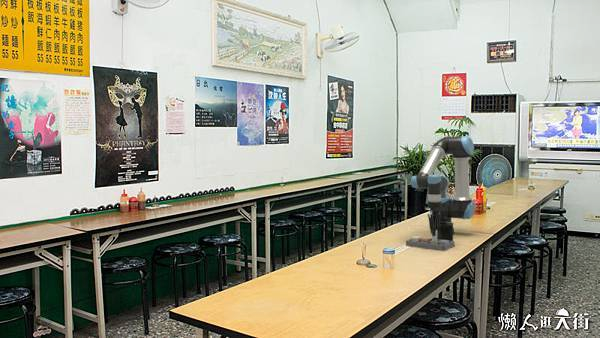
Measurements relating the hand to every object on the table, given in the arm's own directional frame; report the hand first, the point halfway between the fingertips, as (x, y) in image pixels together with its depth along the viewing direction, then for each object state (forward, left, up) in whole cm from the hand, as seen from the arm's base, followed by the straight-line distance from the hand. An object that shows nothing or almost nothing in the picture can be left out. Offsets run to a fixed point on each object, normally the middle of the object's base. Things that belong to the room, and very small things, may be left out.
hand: (434, 240), depth 305 cm
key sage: (0, 0, -3) cm, 3 cm away
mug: (-18, -4, -5) cm, 19 cm away
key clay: (0, -6, -2) cm, 6 cm away
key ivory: (0, -12, -2) cm, 12 cm away
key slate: (0, +6, -2) cm, 6 cm away
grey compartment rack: (0, -3, -4) cm, 5 cm away
